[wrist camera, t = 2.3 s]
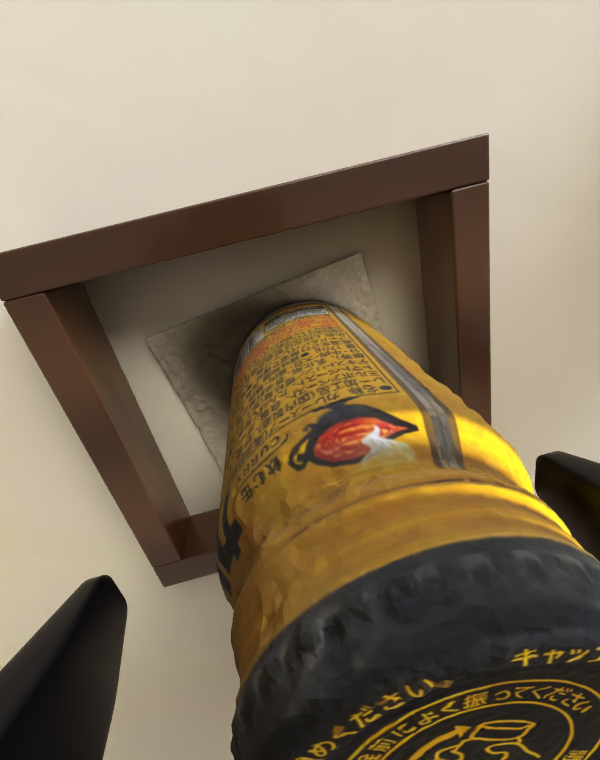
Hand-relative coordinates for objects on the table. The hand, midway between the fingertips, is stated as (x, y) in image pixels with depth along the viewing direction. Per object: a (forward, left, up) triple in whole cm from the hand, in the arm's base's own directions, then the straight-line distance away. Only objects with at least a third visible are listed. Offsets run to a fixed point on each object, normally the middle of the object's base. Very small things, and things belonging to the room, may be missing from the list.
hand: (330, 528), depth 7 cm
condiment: (0, 0, -8) cm, 8 cm away
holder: (0, 0, -8) cm, 8 cm away
